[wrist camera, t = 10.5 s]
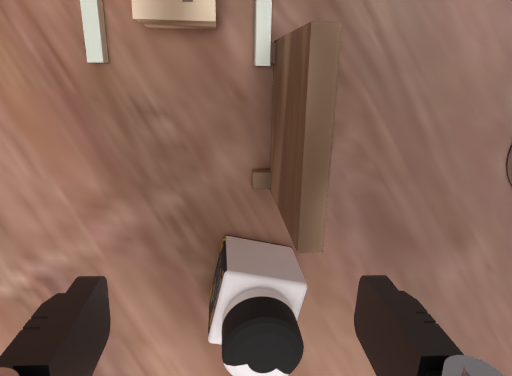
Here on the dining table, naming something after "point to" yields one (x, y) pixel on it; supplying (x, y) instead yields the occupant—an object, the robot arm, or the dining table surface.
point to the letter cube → (175, 13)
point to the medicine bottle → (257, 308)
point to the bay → (98, 42)
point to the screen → (303, 129)
